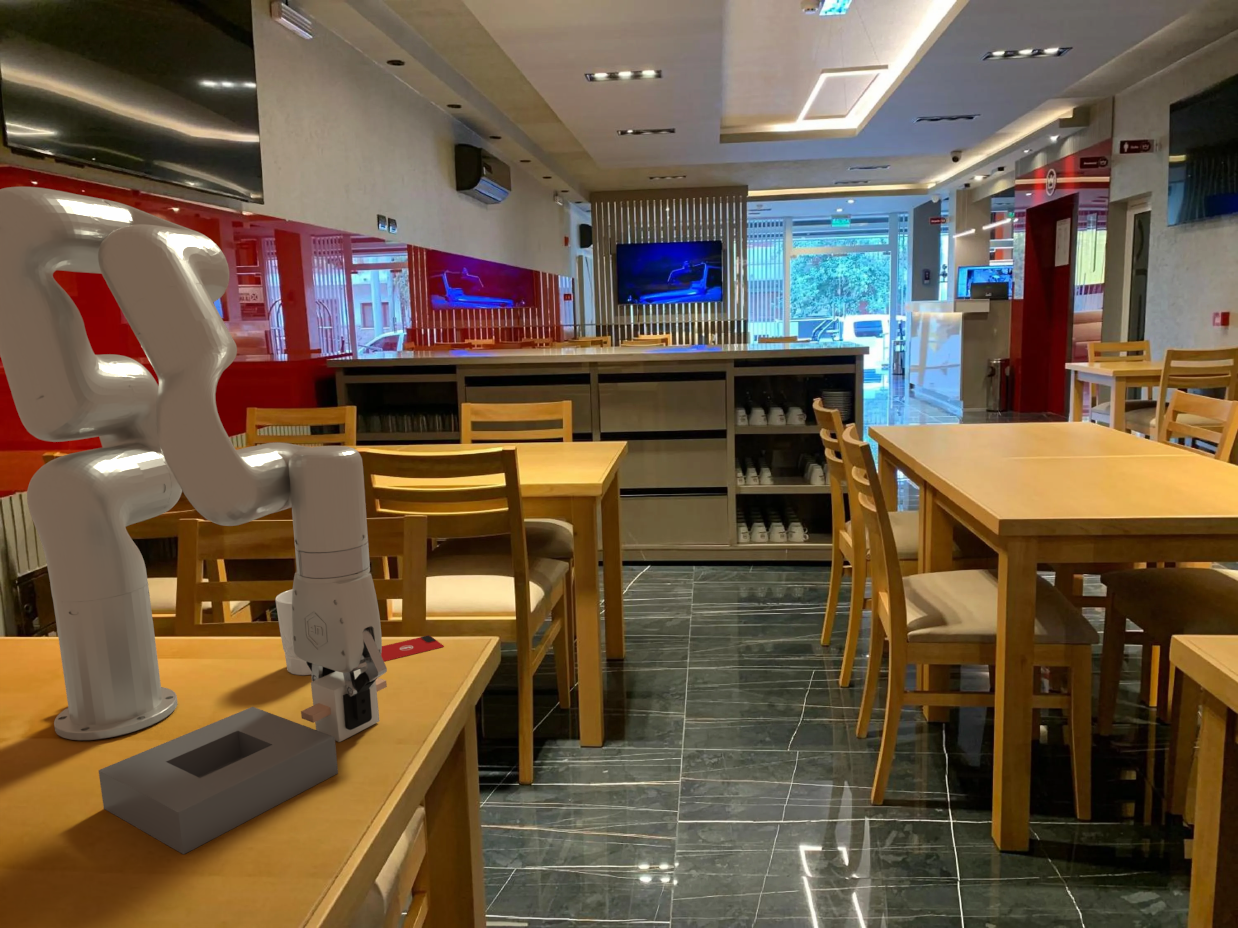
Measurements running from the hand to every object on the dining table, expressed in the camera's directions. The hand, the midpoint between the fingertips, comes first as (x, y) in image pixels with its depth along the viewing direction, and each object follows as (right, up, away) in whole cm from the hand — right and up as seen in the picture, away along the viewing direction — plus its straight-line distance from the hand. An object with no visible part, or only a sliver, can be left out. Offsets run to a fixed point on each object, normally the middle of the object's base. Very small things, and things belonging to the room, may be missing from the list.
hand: (345, 718), depth 97 cm
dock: (-8, -4, -12) cm, 15 cm away
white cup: (-10, +1, +20) cm, 22 cm away
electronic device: (-2, +2, +23) cm, 23 cm away
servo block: (0, -1, 0) cm, 1 cm away
